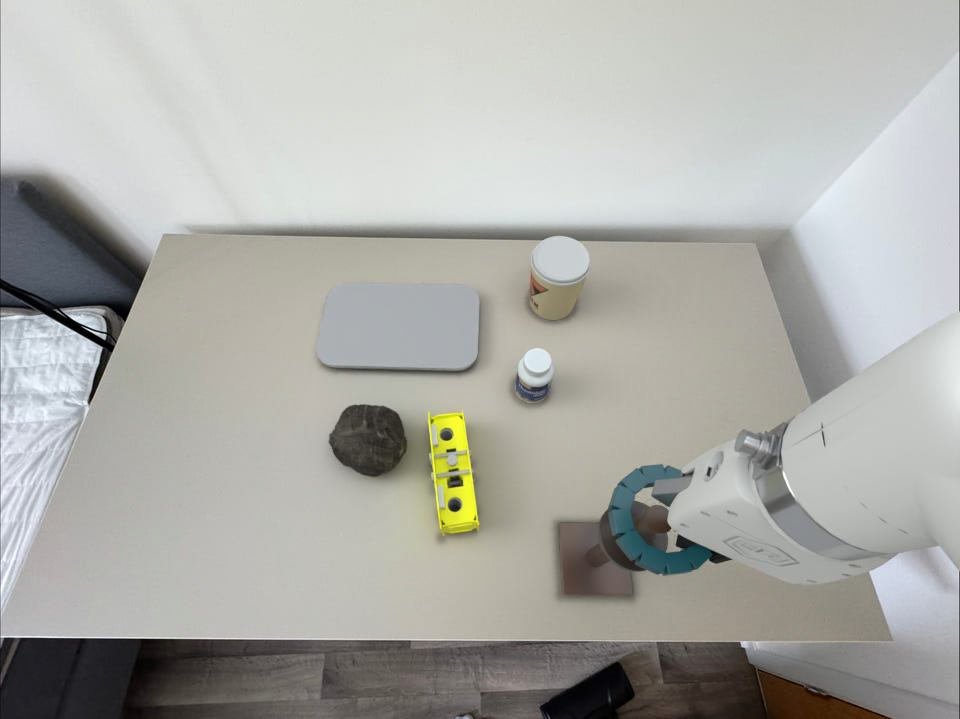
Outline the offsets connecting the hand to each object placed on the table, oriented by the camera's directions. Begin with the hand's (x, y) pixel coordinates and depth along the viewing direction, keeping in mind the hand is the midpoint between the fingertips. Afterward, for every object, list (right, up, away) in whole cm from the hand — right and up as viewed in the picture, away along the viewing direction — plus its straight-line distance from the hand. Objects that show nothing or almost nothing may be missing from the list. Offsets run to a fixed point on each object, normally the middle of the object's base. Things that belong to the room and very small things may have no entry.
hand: (699, 537), depth 42 cm
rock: (-35, +2, +33) cm, 48 cm away
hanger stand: (-3, -12, +25) cm, 28 cm away
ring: (-3, +1, +1) cm, 3 cm away
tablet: (-32, +20, +42) cm, 57 cm away
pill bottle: (-10, +10, +37) cm, 40 cm away
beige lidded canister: (-6, +25, +45) cm, 52 cm away
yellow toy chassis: (-22, -2, +30) cm, 38 cm away
